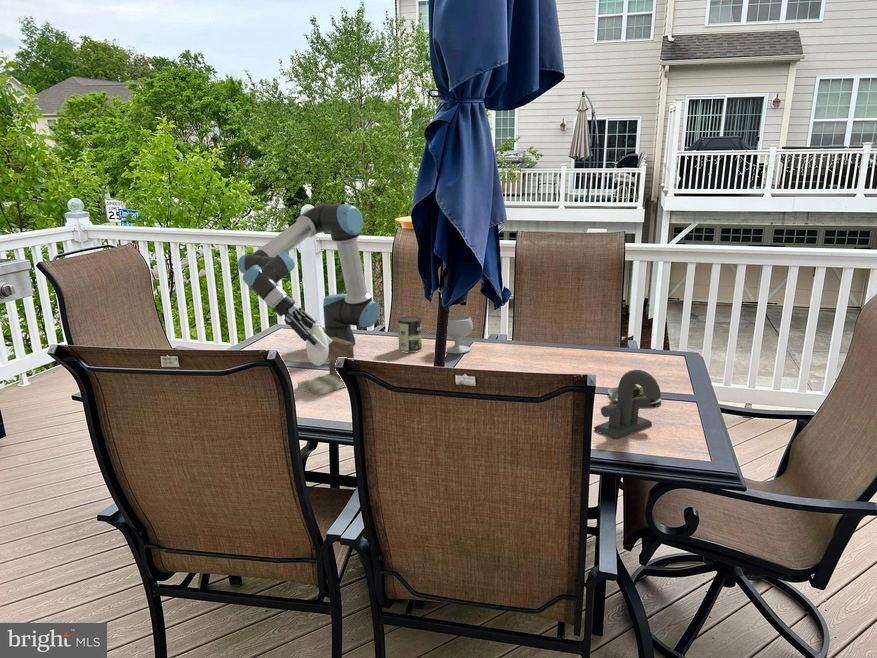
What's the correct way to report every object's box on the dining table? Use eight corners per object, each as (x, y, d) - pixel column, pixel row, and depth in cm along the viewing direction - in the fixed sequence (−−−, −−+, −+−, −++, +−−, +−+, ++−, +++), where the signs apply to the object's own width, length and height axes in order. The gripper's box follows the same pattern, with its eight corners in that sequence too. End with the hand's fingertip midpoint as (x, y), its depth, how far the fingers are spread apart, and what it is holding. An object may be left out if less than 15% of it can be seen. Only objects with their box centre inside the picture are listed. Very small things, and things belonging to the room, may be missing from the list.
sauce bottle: (332, 366, 223) (330, 317, 218) (311, 369, 219) (308, 320, 214) (324, 360, 229) (322, 313, 225) (304, 363, 226) (301, 315, 221)
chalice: (456, 344, 281) (456, 311, 277) (479, 350, 271) (479, 317, 267) (434, 350, 271) (434, 317, 267) (457, 357, 262) (457, 322, 258)
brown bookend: (336, 376, 238) (334, 336, 234) (354, 384, 230) (353, 343, 226) (297, 387, 227) (294, 345, 223) (315, 395, 219) (313, 352, 214)
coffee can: (423, 347, 277) (423, 316, 273) (419, 353, 267) (419, 322, 263) (401, 346, 278) (400, 315, 275) (396, 352, 268) (395, 321, 265)
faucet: (635, 449, 176) (641, 383, 171) (592, 431, 188) (596, 368, 183) (673, 433, 186) (679, 370, 181) (630, 416, 199) (634, 357, 193)
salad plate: (598, 388, 225) (599, 376, 224) (647, 388, 225) (648, 376, 224) (612, 408, 207) (613, 395, 205) (665, 408, 206) (667, 395, 205)
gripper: (283, 302, 230) (327, 345, 233) (262, 315, 211) (311, 362, 213) (296, 289, 228) (341, 332, 231) (276, 300, 209) (325, 347, 211)
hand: (326, 346), depth 222 cm, fingers closed on sauce bottle, 7 cm apart
